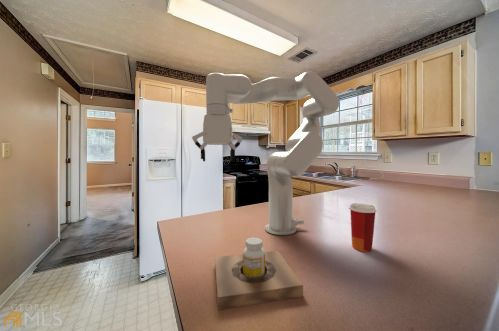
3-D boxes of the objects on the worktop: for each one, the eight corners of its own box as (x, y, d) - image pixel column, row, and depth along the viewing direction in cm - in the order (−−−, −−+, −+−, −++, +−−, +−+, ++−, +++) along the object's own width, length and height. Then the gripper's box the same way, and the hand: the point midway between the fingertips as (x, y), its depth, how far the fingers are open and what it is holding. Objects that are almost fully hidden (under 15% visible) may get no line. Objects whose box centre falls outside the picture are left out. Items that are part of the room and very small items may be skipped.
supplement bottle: (255, 289, 46) (255, 247, 45) (238, 280, 49) (238, 241, 49) (269, 278, 50) (269, 240, 49) (252, 270, 53) (252, 234, 53)
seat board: (277, 259, 59) (277, 250, 59) (302, 296, 43) (303, 285, 43) (215, 266, 55) (215, 257, 55) (218, 309, 40) (217, 297, 40)
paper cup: (372, 244, 68) (373, 203, 68) (378, 255, 61) (379, 209, 60) (346, 241, 71) (347, 201, 70) (349, 251, 63) (350, 207, 63)
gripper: (240, 114, 76) (240, 160, 76) (192, 113, 72) (193, 161, 73) (243, 110, 68) (244, 161, 69) (190, 108, 65) (191, 161, 66)
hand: (218, 161), depth 71 cm, fingers open, 9 cm apart
